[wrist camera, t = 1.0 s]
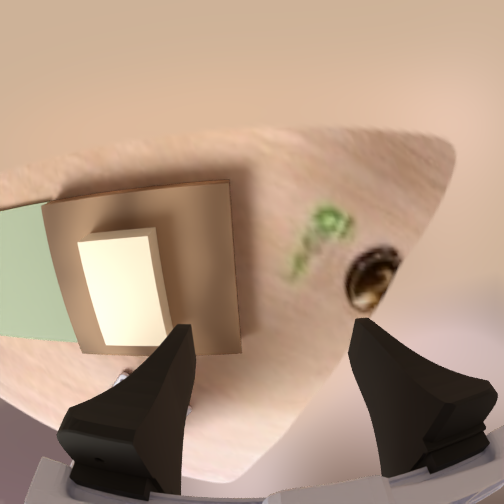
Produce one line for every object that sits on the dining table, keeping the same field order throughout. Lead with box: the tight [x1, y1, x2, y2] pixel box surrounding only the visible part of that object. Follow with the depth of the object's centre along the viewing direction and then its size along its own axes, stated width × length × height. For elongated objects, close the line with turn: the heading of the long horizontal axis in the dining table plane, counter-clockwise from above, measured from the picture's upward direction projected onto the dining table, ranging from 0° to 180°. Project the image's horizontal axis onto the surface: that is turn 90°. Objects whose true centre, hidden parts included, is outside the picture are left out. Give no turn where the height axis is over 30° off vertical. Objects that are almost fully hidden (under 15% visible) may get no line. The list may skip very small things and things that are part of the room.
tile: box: [77, 227, 173, 346], centre depth 20 cm, size 5×8×2 cm, turn 3°
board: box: [41, 180, 242, 356], centre depth 22 cm, size 14×13×2 cm
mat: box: [0, 201, 78, 342], centre depth 22 cm, size 14×13×1 cm
